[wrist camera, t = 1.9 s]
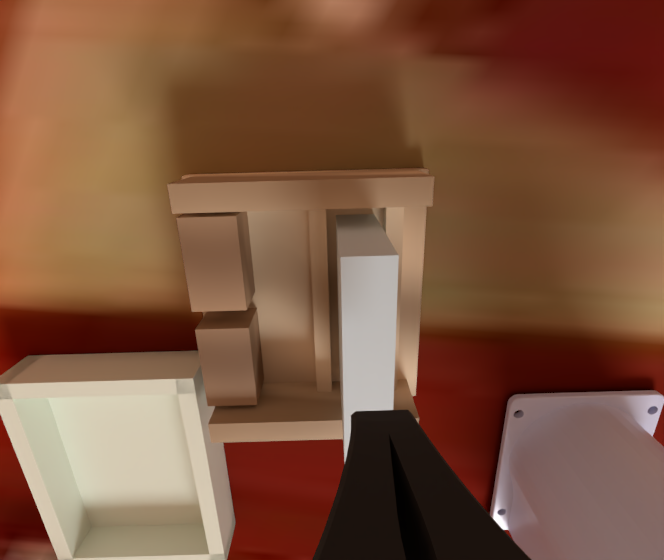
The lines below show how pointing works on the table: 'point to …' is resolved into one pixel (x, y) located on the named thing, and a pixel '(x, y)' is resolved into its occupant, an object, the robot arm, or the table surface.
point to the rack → (312, 286)
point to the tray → (120, 455)
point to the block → (365, 316)
